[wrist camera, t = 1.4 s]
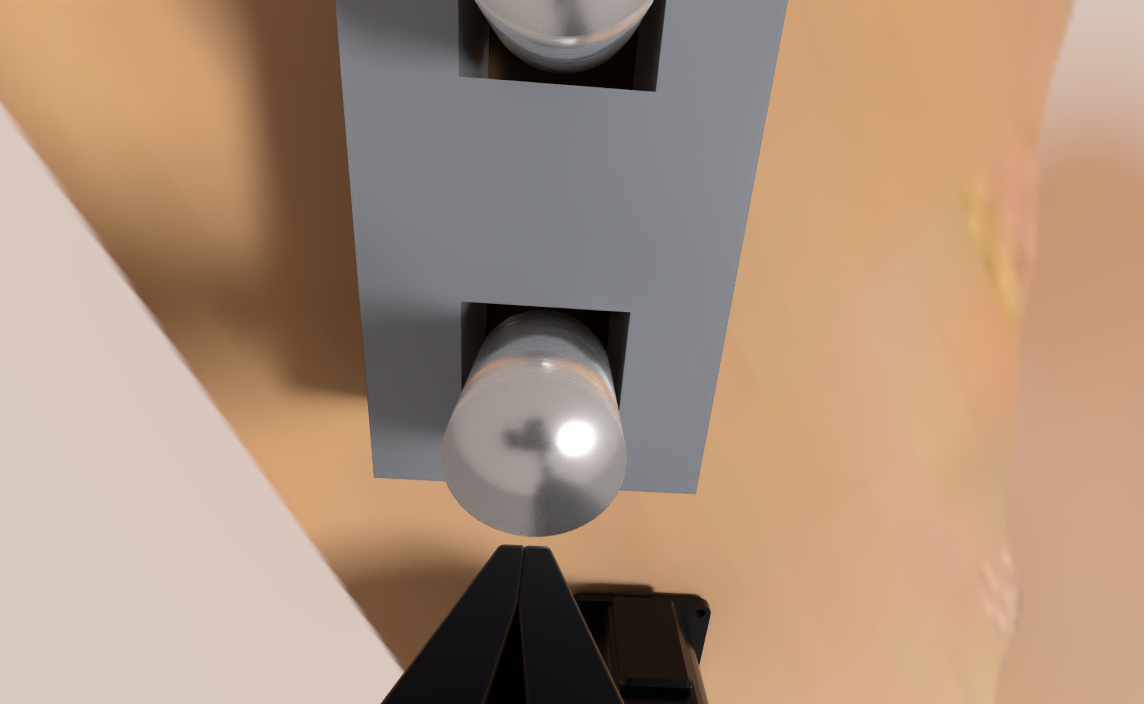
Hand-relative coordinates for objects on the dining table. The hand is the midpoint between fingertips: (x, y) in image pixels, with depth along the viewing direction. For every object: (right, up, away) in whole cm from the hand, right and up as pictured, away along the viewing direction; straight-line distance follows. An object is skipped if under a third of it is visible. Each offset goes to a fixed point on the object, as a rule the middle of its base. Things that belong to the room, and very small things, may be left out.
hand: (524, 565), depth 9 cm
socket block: (0, +9, +9) cm, 13 cm away
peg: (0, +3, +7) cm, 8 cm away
